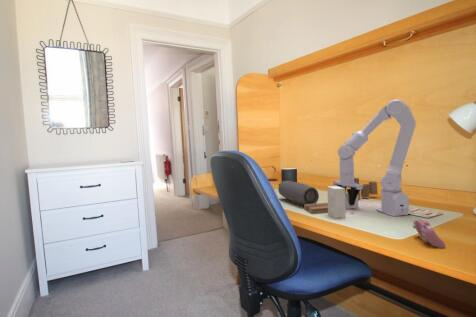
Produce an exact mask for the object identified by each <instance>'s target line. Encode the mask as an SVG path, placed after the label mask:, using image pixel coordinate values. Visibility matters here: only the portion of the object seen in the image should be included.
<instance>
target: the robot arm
mask: <svg viewBox="0 0 476 317" xmlns="http://www.w3.org/2000/svg"><path fill="white" fill-rule="evenodd" d="M392 118H394V119H395V120H396V122H397V123H398V125H399V126H400V128H399V132H398V133H397V134H398V136H397V138H396V142H395V145H394V148H393V152H392V154H391V158H390V162H389V165H388V168H387V170H386V173H385V174H384V176H383V177H382V178H381V180H380V185H381V189H380V193H381V194H380V195H381V196H380V199H381V203H380V205H381V206H380V208H375V210H376V211H378V212H380V213H384V214H386V215H389V216H391V217H396V216H397V217H398V216H409V215H408V214H410V215H411V212H410V211H409V210H410V208H409V204H410V202H409V201H410V198H409V196H408V195H407V194H406V193H404V191H403V188H402V187H401V186H400V185H401V184H402V181H403V180H402V172H403V167H404V164H405V160H406V158H407V155H408V151H409V149H410V145H411V141H412V140H413V139H412V138H413V136H414V132H415V129H416V125H417V121H416V119H415V116H414V115H413V112H412V109H411V108H410V106H409V105H407V103H406V102H404V100H401V99H399V98H397V99H391V100H390V101H389V102H388V103H386V105H384V106H382V108H381V109H380V110H378V112H377V113H376V114H375V115H374V116H373V118H371V120H370V121H369V122H368V123H367V124H366V125H365V126H364V127H363V128H362V130H356V131H355V132H354V131H353V132H352V133H351V135H352V136H350V138H349V139H348V140H347V141H345V142H343V145H340V146H339V148H338V149H337V155H338V157H339V180H333V181H332V184H333V185H332V186H339V187H342V188H345V193H346V192H347V193H348V195H349V204H350V205H354V204H355V200H356V197H357V195H358V193H359V192H360V193H361V189H362V185H363V184H360V183H359V184H357V183H355V182H354V178H355V168H354V167H355V166H354V165H355V162H354V156H355V154H356V152H358V151H359V150H360V149H361V148H362V147H363V146H364V145H365V144H366V143H367V142H368V141H369V135H370V134H371V133H372V132H374V130H376V129H377V127H379V126H380V125H381V124H382V123H383V122H385V121H388V120H391V119H392Z"/></svg>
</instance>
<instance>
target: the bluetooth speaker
mask: <svg viewBox="0 0 476 317" xmlns="http://www.w3.org/2000/svg"><path fill="white" fill-rule="evenodd" d="M277 189H278V193H279V195H280V196H282V197H283V198H285V199H287V200H289V202H291V203H293V204H296V205H300V206H304V205H305V204H317V203H318V201H319V198H320V194H319V191H318V190H317V189H316V188H315V187H314V186H313V187H312V186H310V185H307V184H304V183H301V182H295V181H290V180H283V181H281V182H280V183H279V185H278V188H277Z"/></svg>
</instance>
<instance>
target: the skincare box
mask: <svg viewBox="0 0 476 317" xmlns="http://www.w3.org/2000/svg"><path fill="white" fill-rule="evenodd" d="M345 193H346V192H345V188H342V187H339V186H337V185H332V186H331V185H329V186H327V203H328V213H327V215H328V216H329V217H330V218H333V219H335V220H340V219H346V214H345V213H346V209H345Z"/></svg>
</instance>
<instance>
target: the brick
mask: <svg viewBox="0 0 476 317" xmlns="http://www.w3.org/2000/svg"><path fill="white" fill-rule="evenodd" d="M356 207H358V208H359V199H358V195H357V197H356V200H355V204H354V205H350V204H349V195H348V192H347V193H346V192H345V210H347V209H346V208H348V209H357V208H356Z"/></svg>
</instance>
